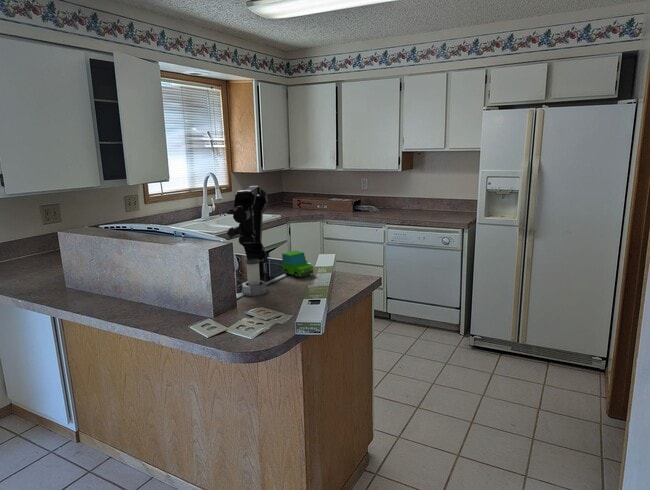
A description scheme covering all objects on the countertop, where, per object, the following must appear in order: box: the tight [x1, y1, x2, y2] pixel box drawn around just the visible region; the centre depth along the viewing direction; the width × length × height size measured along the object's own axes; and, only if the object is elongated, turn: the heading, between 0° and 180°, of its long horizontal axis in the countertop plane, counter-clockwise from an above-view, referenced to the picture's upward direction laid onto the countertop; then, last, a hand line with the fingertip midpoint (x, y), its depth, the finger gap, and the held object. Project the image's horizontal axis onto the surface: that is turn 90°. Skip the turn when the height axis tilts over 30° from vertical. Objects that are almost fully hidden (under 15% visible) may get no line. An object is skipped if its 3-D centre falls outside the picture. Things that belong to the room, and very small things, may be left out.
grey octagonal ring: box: [240, 279, 269, 297], centre depth 186 cm, size 11×11×4 cm
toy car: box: [281, 250, 314, 279], centre depth 208 cm, size 10×13×10 cm
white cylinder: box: [245, 259, 261, 286], centre depth 185 cm, size 5×5×13 cm
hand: (248, 255), depth 194 cm, fingers open, 9 cm apart
